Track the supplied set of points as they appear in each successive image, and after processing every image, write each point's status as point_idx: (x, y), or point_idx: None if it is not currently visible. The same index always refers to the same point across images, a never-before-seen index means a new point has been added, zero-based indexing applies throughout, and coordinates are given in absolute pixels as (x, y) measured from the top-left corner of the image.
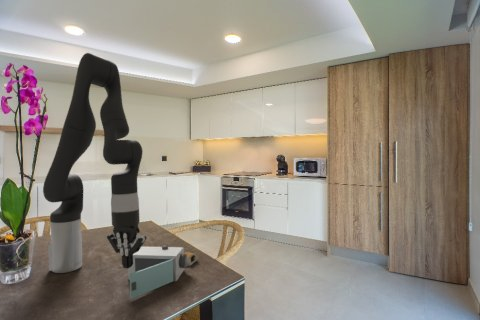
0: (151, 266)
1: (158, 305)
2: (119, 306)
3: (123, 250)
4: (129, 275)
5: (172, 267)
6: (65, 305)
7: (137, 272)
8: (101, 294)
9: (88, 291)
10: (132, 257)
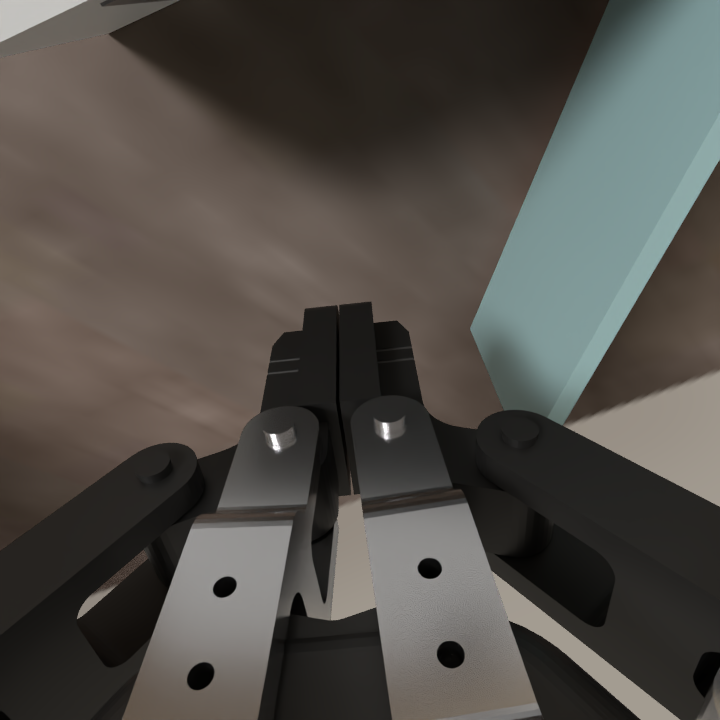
0: (663, 220)
1: (706, 279)
2: (448, 390)
3: (332, 568)
4: (107, 28)
5: None
6: None
7: (574, 399)
8: (190, 346)
9: (56, 359)
10: (420, 392)
